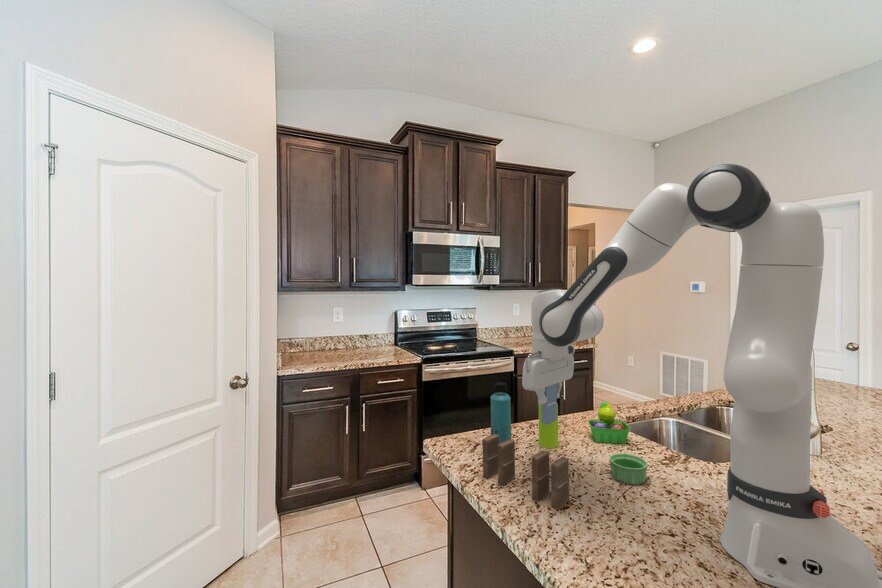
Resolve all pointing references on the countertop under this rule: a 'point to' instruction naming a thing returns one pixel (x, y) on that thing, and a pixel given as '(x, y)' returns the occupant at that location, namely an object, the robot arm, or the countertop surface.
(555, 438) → the soap dispenser
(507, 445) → the domino
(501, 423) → the beverage bottle
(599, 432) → the fruit basket
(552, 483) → the domino
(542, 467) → the domino
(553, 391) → the domino
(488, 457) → the domino
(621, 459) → the ramekin
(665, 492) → the countertop surface
